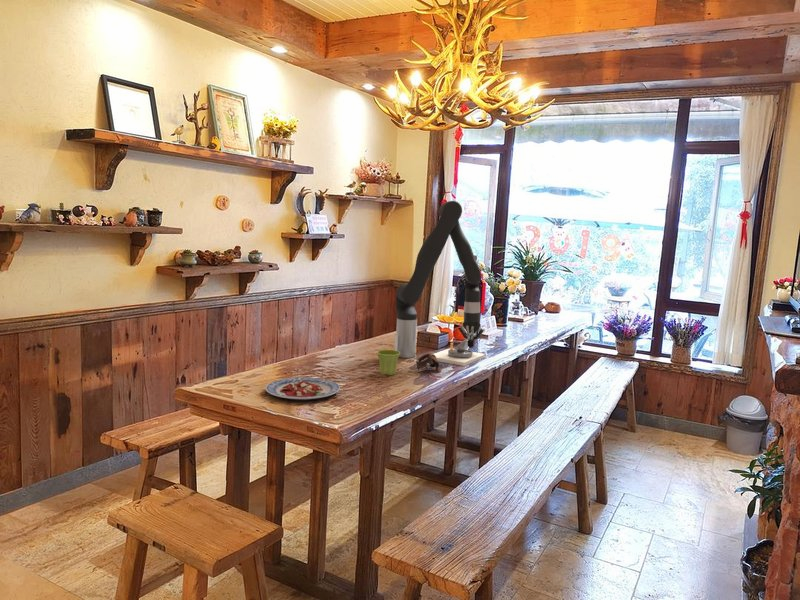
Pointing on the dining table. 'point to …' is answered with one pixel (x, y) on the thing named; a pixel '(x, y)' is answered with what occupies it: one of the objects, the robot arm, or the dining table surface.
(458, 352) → the dial
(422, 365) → the brown mottled lump
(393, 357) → the plant pot
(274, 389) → the ceramic plate
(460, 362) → the dial base
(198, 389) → the dining table surface
